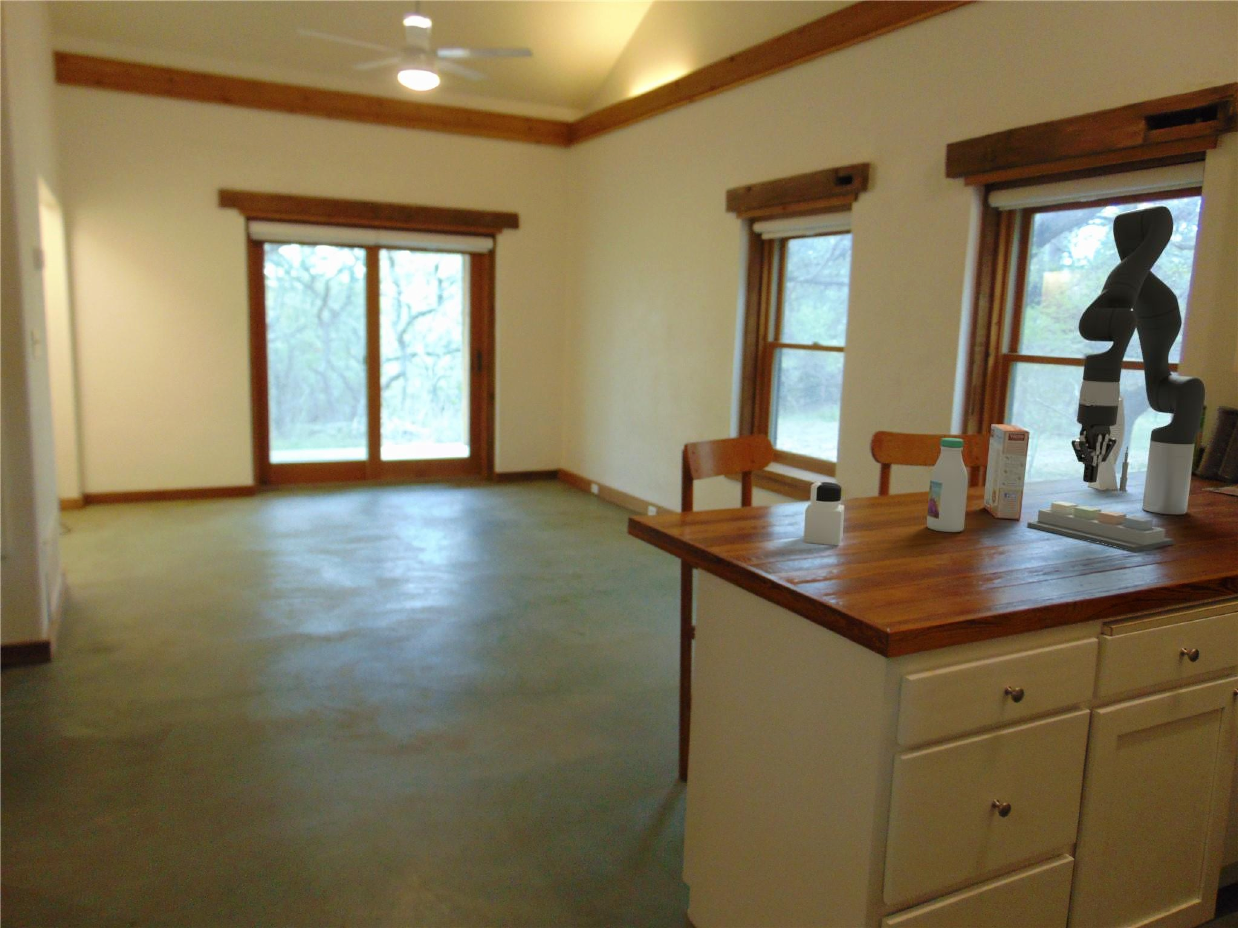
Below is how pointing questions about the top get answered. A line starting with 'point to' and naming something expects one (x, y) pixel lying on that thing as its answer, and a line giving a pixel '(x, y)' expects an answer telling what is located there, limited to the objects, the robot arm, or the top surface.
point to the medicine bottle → (824, 515)
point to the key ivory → (1063, 507)
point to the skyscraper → (1113, 458)
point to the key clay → (1111, 517)
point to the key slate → (1138, 523)
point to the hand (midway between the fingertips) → (1089, 482)
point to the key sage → (1086, 512)
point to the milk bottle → (948, 489)
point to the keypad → (1100, 531)
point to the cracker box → (1006, 471)
